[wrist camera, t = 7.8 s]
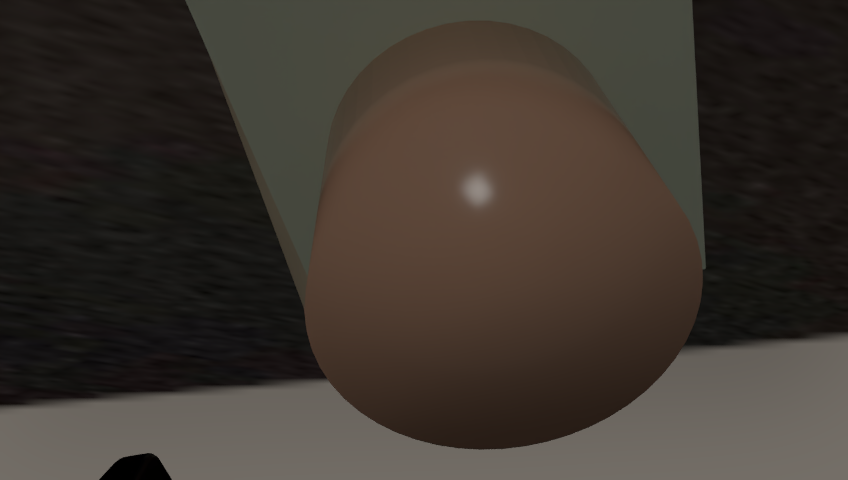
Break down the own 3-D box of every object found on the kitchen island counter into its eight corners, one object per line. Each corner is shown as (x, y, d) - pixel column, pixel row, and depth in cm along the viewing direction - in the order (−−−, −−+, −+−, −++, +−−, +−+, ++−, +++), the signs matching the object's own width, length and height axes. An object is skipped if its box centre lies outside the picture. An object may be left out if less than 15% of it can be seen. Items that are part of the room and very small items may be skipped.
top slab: (634, -167, 14) (684, -153, 12) (665, 203, 19) (705, 268, 17) (216, -45, 15) (182, -7, 13) (346, 277, 20) (340, 350, 18)
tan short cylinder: (606, -10, 13) (709, 94, 9) (618, 253, 17) (697, 417, 12) (290, 54, 14) (250, 182, 9) (364, 298, 17) (357, 473, 13)
